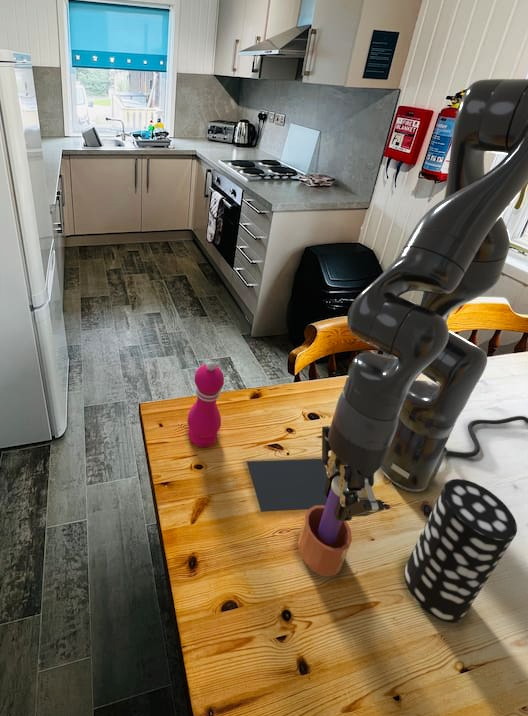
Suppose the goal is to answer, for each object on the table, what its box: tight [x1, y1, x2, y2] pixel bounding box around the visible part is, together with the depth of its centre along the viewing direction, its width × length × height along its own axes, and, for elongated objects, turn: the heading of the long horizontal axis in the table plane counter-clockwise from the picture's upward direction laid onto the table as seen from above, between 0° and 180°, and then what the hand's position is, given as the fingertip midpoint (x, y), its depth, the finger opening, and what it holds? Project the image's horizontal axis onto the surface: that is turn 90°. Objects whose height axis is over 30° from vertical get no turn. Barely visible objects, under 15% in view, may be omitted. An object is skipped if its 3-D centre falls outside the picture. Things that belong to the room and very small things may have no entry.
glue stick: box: [318, 476, 353, 544], centre depth 62 cm, size 3×3×12 cm
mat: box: [246, 458, 328, 512], centre depth 77 cm, size 16×10×1 cm, turn 95°
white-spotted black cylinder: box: [403, 478, 518, 624], centre depth 58 cm, size 8×8×20 cm
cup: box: [297, 505, 353, 577], centre depth 65 cm, size 7×7×7 cm
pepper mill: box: [186, 361, 225, 448], centre depth 83 cm, size 7×7×20 cm
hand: (336, 505), depth 61 cm, fingers closed on glue stick, 3 cm apart
